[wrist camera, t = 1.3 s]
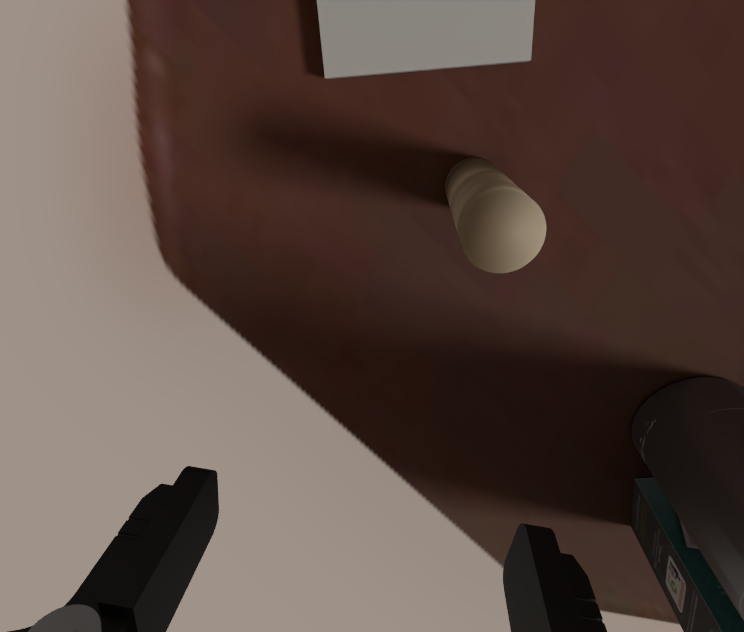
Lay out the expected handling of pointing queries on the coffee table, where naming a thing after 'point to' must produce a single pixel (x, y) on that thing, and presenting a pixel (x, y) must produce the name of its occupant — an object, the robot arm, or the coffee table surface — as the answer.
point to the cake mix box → (680, 564)
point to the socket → (422, 35)
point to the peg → (493, 217)
